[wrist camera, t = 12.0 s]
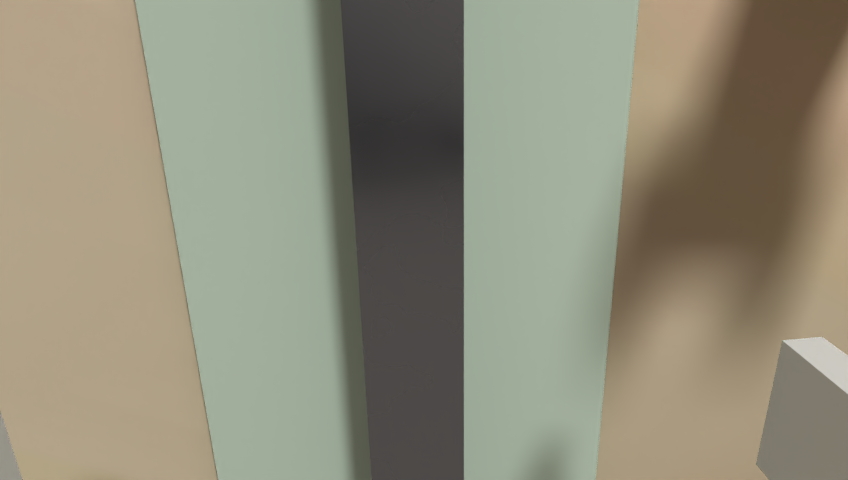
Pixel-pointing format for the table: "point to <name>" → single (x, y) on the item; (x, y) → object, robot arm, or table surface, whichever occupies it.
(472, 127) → the mat
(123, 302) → the table surface
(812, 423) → the robot arm
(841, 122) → the table surface
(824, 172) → the table surface
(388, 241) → the rail
